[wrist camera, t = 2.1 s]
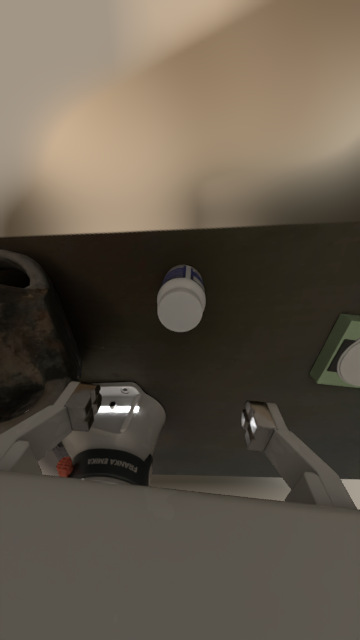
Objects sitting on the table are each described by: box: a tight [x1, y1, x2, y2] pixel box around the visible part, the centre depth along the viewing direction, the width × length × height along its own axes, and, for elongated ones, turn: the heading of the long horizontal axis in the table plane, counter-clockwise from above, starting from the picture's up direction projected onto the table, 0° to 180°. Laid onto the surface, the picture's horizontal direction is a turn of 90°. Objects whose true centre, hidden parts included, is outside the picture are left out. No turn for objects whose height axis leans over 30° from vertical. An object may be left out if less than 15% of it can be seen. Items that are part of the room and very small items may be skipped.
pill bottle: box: [157, 265, 206, 332], centre depth 25 cm, size 6×6×10 cm
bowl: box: [0, 250, 82, 434], centre depth 25 cm, size 27×26×15 cm
